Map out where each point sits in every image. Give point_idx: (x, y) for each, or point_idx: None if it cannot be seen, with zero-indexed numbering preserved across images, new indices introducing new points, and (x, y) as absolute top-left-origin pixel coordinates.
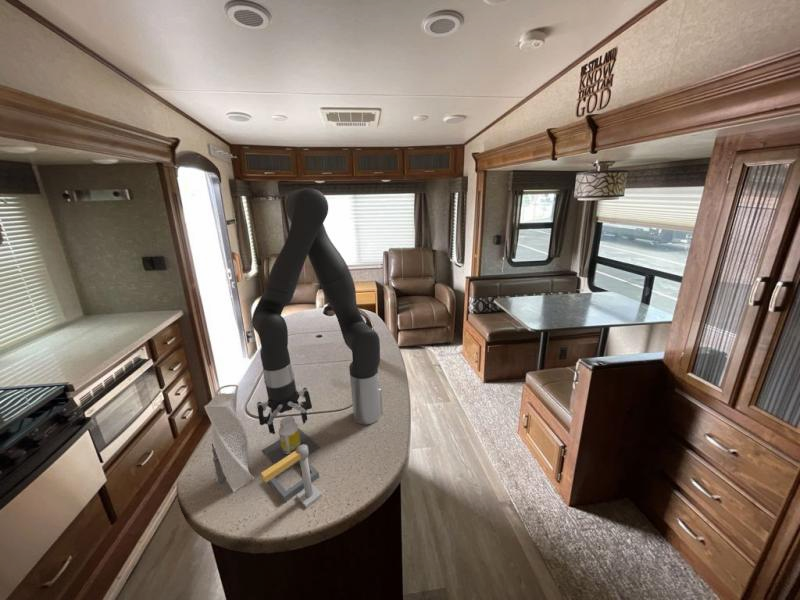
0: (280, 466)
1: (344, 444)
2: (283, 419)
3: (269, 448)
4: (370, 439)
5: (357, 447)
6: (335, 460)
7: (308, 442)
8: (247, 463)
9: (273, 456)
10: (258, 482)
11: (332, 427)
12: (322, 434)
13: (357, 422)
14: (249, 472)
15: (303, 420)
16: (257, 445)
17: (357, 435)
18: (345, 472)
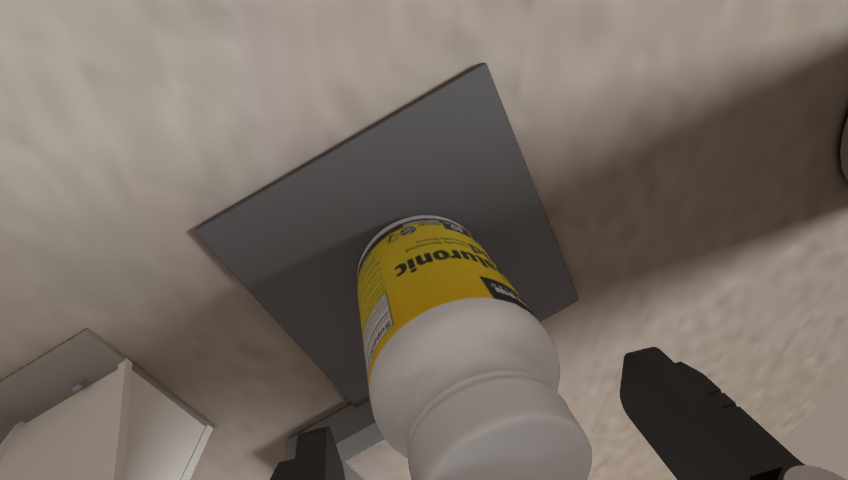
0: None
1: (689, 303)
2: (466, 469)
3: (254, 233)
4: (799, 300)
5: (726, 334)
6: (613, 384)
7: (528, 253)
8: (127, 420)
9: (300, 313)
10: (243, 444)
11: (700, 140)
12: (621, 189)
13: (841, 158)
14: (171, 457)
15: (655, 439)
16: (125, 150)
17: (772, 258)
18: (623, 439)
